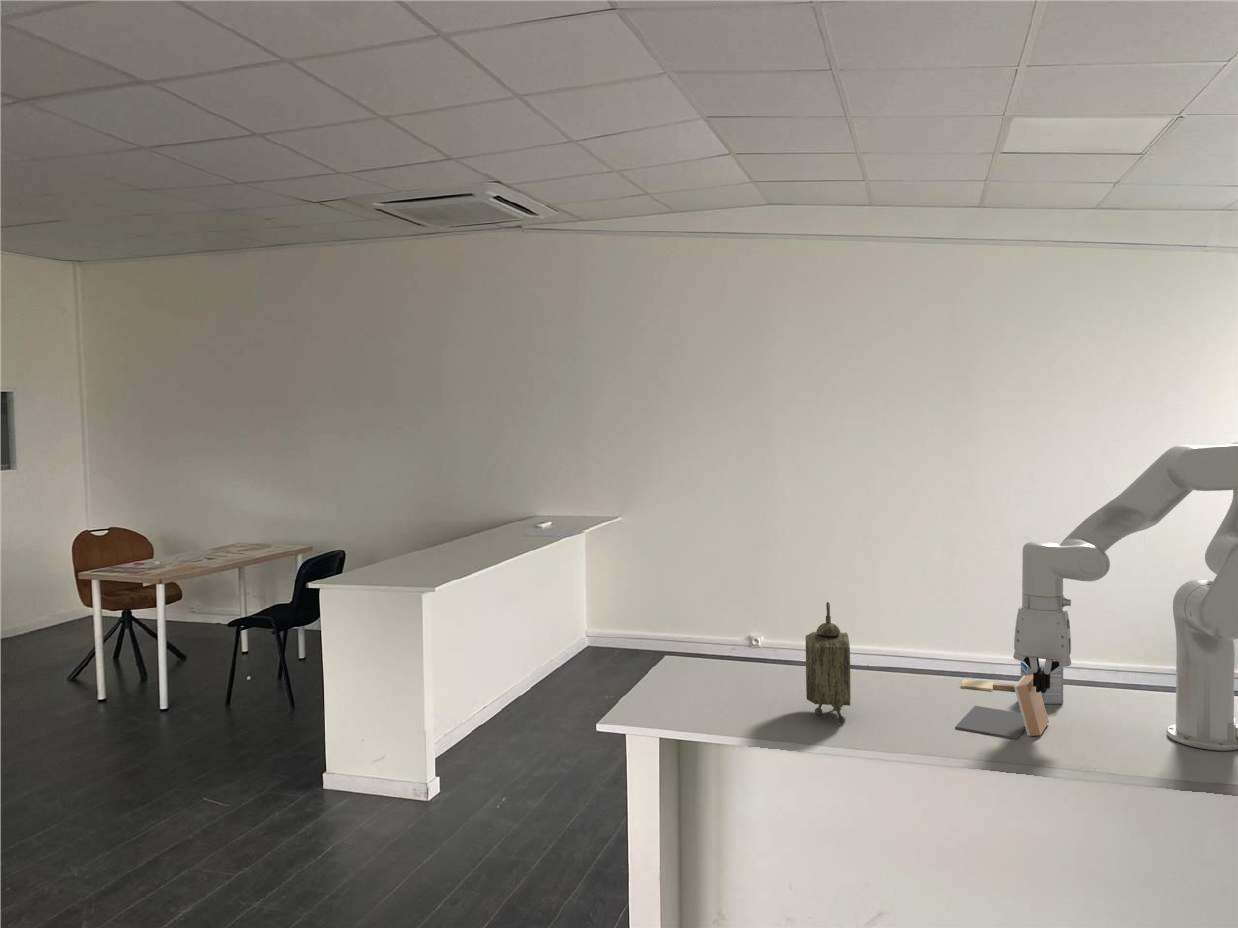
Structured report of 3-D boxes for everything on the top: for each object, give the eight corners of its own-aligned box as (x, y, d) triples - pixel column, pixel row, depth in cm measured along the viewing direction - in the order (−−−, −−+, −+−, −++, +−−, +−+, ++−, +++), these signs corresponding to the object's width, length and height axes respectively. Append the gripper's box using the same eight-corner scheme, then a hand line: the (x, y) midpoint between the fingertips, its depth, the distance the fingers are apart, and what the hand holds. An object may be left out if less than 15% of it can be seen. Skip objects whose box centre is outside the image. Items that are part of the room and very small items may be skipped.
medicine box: (1056, 698, 200) (1056, 661, 200) (1063, 704, 196) (1063, 666, 196) (1020, 698, 201) (1020, 661, 201) (1027, 704, 197) (1027, 666, 196)
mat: (1033, 716, 189) (1033, 714, 189) (1017, 739, 176) (1017, 737, 176) (974, 707, 196) (974, 705, 196) (955, 728, 183) (955, 726, 183)
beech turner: (1039, 688, 207) (1039, 684, 207) (1039, 695, 202) (1039, 691, 202) (962, 681, 215) (962, 677, 215) (960, 688, 210) (960, 683, 210)
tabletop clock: (850, 727, 185) (849, 610, 184) (807, 725, 187) (805, 609, 185) (847, 705, 199) (845, 596, 198) (806, 703, 201) (804, 595, 200)
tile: (1049, 721, 184) (1035, 674, 185) (1040, 734, 176) (1026, 685, 177) (1036, 722, 185) (1023, 675, 186) (1027, 735, 178) (1014, 686, 179)
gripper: (1086, 603, 178) (1085, 692, 178) (1007, 595, 186) (1006, 680, 187) (1080, 609, 171) (1079, 702, 172) (999, 601, 180) (998, 689, 181)
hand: (1041, 690), depth 180 cm, fingers closed
